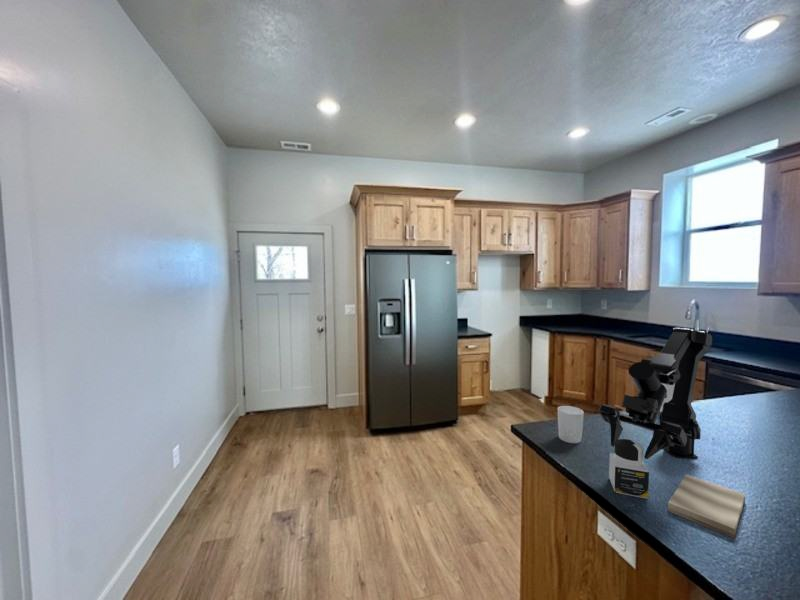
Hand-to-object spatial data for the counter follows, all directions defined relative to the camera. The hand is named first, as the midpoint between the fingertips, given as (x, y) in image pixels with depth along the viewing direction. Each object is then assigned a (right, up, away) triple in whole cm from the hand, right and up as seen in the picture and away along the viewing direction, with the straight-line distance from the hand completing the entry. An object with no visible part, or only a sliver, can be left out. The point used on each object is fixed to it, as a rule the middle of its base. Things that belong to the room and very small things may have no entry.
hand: (628, 452), depth 86 cm
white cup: (-1, -9, +28) cm, 30 cm away
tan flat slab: (+14, -10, -7) cm, 18 cm away
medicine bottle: (0, -10, +1) cm, 10 cm away
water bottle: (+47, -8, +46) cm, 67 cm away
